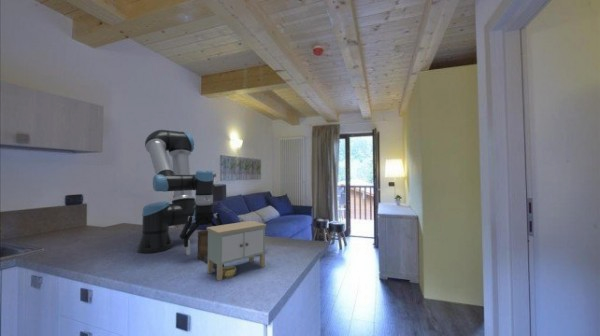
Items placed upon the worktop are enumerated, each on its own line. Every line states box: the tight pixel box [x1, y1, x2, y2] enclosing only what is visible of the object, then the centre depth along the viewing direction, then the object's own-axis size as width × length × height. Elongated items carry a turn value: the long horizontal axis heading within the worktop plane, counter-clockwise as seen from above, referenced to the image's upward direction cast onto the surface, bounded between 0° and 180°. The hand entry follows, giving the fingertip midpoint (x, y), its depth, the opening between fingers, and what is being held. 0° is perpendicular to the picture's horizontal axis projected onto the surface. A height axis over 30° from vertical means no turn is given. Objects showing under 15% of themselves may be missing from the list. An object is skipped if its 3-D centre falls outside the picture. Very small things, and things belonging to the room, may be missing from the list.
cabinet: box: [206, 220, 267, 282], centre depth 98 cm, size 12×21×18 cm, turn 133°
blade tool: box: [197, 229, 225, 271], centre depth 105 cm, size 20×4×12 cm, turn 43°
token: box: [222, 265, 237, 279], centre depth 92 cm, size 6×6×2 cm
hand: (203, 250), depth 111 cm, fingers open, 13 cm apart
